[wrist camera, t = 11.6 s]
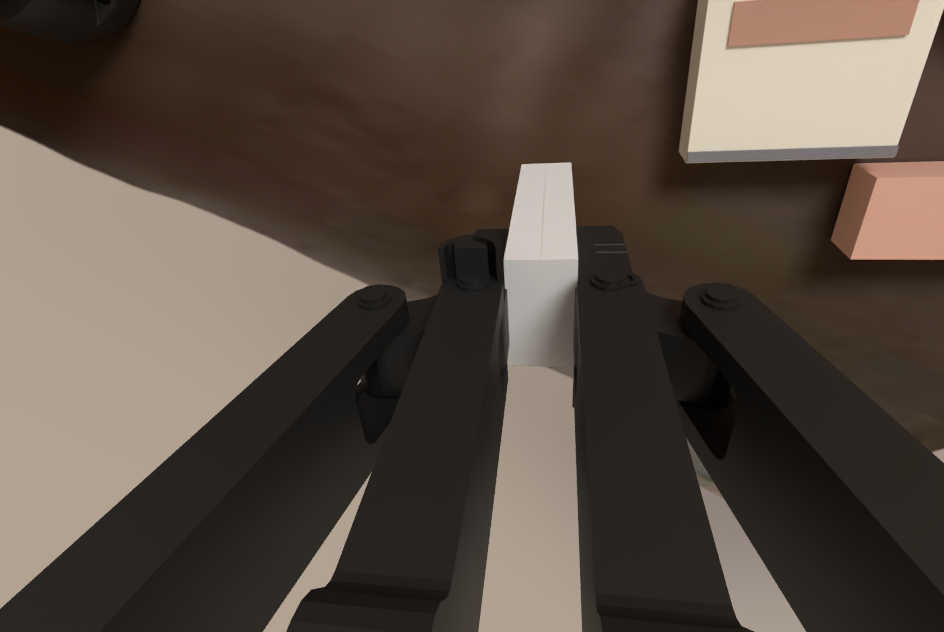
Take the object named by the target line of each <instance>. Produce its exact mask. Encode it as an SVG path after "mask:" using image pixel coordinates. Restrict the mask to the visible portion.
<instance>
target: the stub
mask: <svg viewBox="0 0 944 632" xmlns="http://www.w3.org/2000/svg"><path fill="white" fill-rule="evenodd" d="M831 241H832V242H833V243H834V244H835V245H836V246H837V247H838V248H839V249H840V250H841V251H842V252H843V253H844V254H845V255H846V256H847V257H848V258H849V259H872V260H944V161H932V162H894V163H856V164H854V165H853V168H852V171H851V174H850V178H849V181H848V184H847V188H846V191H845V194H844V198H843V201H842V204H841V208H840V211H839V214H838V218H837V221H836V224H835V228H834V231H833V234H832V237H831Z"/></svg>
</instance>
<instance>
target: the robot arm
mask: <svg viewBox="0 0 944 632" xmlns="http://www.w3.org/2000/svg"><path fill="white" fill-rule="evenodd" d="M138 2H139V0H0V27H4V28H7V29H11V30H14V31H17V32H21V33H24V34H28V35H31V36H34V37H38V38H41V39H45V40H49V41H55V42H64V43H74V42H86V41H94V40H100V39H104V38H107V37H109V36H111V35H113V34H115V33H116V32H118V31H119V30H120V29H122V28H123V27H124V26H125V25H126V24H127V22H128V21H129V20H130V18H131V17H132V15H133V14H134V12H135V10H136V8H137V5H138ZM438 252H439V261H440V269H441V277H442V285H441V288H440V290H439V293H438V295H435V296H433V297H430V298H426V299H421V300H415V301H409V302H407V301H406V296H405V292H404V291H403V290H401V289H400V288H398V287H395V286H391V285H380V284H379V285H374V286H373V285H371V286H367V287H365V288H363V289H360V290H357V291H355V292H354V293H352V294H351V295H349V296H348V297H347V298H346V299H345V300H343V301H342V302H341V303H340V304H339V305H338V306H337V307H336V308H334V309H333V310H332V311H331V312H330V313H329V314H328V315H327V316H326V317H324V318H323V319H322V320H321V321H320V322H319V323H318V324H317V325H316V326H314V327H313V328H312V329H311V330H310V331H309V332H308V333H307V334H306V335H304V336H303V337H302V338H301V339H300V340H299V341H298V342H297V343H296V344H295V345H293V346H292V347H291V348H290V349H289V350H288V351H287V352H285V353H284V354H283V355H282V356H281V357H280V358H279V359H278V360H277V361H276V362H275V363H273V364H272V365H271V366H270V367H269V368H268V369H267V370H266V371H265V372H263V373H262V374H261V375H260V376H259V377H258V378H257V379H255V380H254V381H253V382H252V383H251V384H250V385H249V386H248V387H247V388H246V389H244V390H243V391H242V392H241V393H240V394H239V395H238V396H237V397H235V398H234V399H233V400H232V401H231V402H230V403H229V404H228V405H227V406H225V407H224V408H223V409H222V410H221V411H220V412H219V413H218V414H217V415H215V416H214V417H213V418H212V419H211V420H210V421H209V422H208V423H207V424H206V425H205V426H203V427H202V428H201V429H200V430H199V431H198V432H197V433H195V434H194V435H193V436H192V437H191V438H190V439H189V440H188V441H187V442H185V443H184V444H183V445H182V446H181V447H180V448H179V449H178V450H176V451H175V452H174V453H173V454H172V455H171V456H170V457H169V458H168V459H167V460H165V461H164V462H163V463H162V464H161V465H160V466H159V467H158V468H156V470H154V471H153V472H152V473H151V474H150V475H149V476H148V477H146V478H145V479H144V480H143V481H142V482H141V483H140V484H139V485H138V486H137V487H135V488H134V489H133V490H132V491H131V492H130V493H129V494H128V495H126V496H125V497H124V498H123V499H122V500H121V501H120V502H119V503H118V504H117V505H115V506H114V507H113V508H112V509H111V510H110V511H109V512H108V513H106V514H105V515H104V516H103V517H102V518H101V519H100V520H99V521H98V522H96V523H95V524H94V525H93V526H92V527H91V528H90V529H89V530H88V531H86V532H85V533H84V534H83V535H82V536H81V537H80V538H79V539H78V540H76V541H75V542H74V543H73V544H72V545H71V546H70V547H69V548H67V550H65V551H64V552H63V553H62V554H61V555H60V556H59V557H57V558H56V559H55V560H54V561H53V562H52V563H51V564H50V565H49V566H48V567H46V568H45V569H44V570H43V571H42V572H41V573H40V574H39V575H37V576H36V577H35V578H34V579H33V580H32V581H31V582H30V583H29V584H28V585H26V586H25V587H24V588H23V589H22V590H21V591H20V592H19V593H17V594H16V595H15V596H14V597H13V598H12V599H11V600H10V601H9V602H7V603H6V604H5V605H4V606H3V607H2V608H1V609H0V632H263V630H264V629H265V627H266V626H267V624H268V623H269V621H270V620H271V618H272V617H273V616H274V614H275V613H276V611H277V609H278V608H279V607H280V605H281V604H282V602H283V601H284V599H285V598H286V596H287V595H288V594H289V592H290V591H291V589H292V588H293V586H294V585H295V583H296V582H297V580H298V579H299V578H300V576H301V575H302V573H303V572H304V570H305V569H306V567H307V566H308V564H309V563H310V561H311V560H312V558H313V557H314V556H315V554H316V553H317V551H318V549H319V548H320V547H321V545H322V544H323V542H324V540H325V539H326V538H327V536H328V535H329V534H330V532H331V531H332V529H333V528H334V526H335V525H336V523H337V522H338V520H339V519H340V517H341V516H342V514H343V513H344V512H345V510H346V509H347V507H348V506H349V504H350V503H351V501H352V500H353V498H354V497H355V495H356V494H357V492H358V491H359V489H360V488H361V487H362V485H363V484H364V482H365V481H366V479H367V478H368V476H369V475H370V473H371V472H372V473H371V476H370V478H369V481H368V484H367V487H366V489H365V492H364V495H363V498H362V500H361V503H360V505H359V508H358V511H357V514H356V516H355V519H354V521H353V524H352V527H351V530H350V532H349V535H348V538H347V541H346V543H345V546H344V548H343V551H342V554H341V556H340V559H339V562H338V565H337V568H336V570H335V572H334V574H333V577H332V579H331V581H330V582H329V583H328V584H327V585H326V586H325V587H322V588H317V589H313V590H311V591H310V592H309V593H308V594H307V595H306V596H305V597H304V598H303V599H302V600H301V602H300V604H299V606H298V608H297V610H296V612H295V614H294V616H293V618H292V619H291V622H290V624H289V626H288V629H287V632H478V629H479V620H480V612H481V603H482V595H483V587H484V578H485V569H486V561H487V552H488V544H489V536H490V527H491V519H492V510H493V502H494V494H495V485H496V477H497V468H498V460H499V452H500V451H499V450H500V443H501V435H502V426H503V418H504V409H505V401H506V392H507V384H508V371H507V358H508V361H509V366H543V367H574V379H573V407H574V409H575V439H576V466H577V495H578V522H579V523H578V524H579V551H580V552H579V553H580V579H581V609H582V632H754V631H751V630H749V629H747V628H745V627H742V626H741V625H740V623H739V622H738V620H737V618H736V615H735V612H734V610H733V607H732V603H731V600H730V596H729V593H728V589H727V586H726V582H725V578H724V575H723V571H722V567H721V564H720V561H719V556H718V553H717V549H716V546H715V542H714V538H713V534H712V531H711V527H710V524H709V520H708V517H707V513H706V509H705V505H704V502H703V498H702V495H701V491H700V487H699V484H698V480H697V476H696V473H695V469H694V465H693V462H692V458H691V455H690V451H689V447H688V444H687V440H686V438H687V439H688V441H689V443H690V444H691V446H692V448H693V449H694V451H695V452H696V454H697V456H698V457H699V459H700V460H701V462H702V464H703V465H704V467H705V469H706V470H707V472H708V473H709V475H710V477H711V478H712V480H713V481H714V483H715V485H716V486H717V488H718V490H719V491H720V493H721V494H722V496H723V498H724V499H725V501H726V502H727V504H728V506H729V507H730V509H731V511H732V512H733V514H734V515H735V517H736V519H737V520H738V522H739V524H740V525H741V527H742V528H743V530H744V532H745V533H746V535H747V536H748V538H749V540H750V541H751V543H752V545H753V546H754V548H755V549H756V551H757V553H758V554H759V556H760V557H761V559H762V560H763V562H764V564H765V565H766V567H767V569H768V570H769V572H770V574H771V575H772V577H773V579H774V580H775V582H776V583H777V585H778V587H779V588H780V590H781V591H782V593H783V594H784V596H785V598H786V600H787V601H788V603H789V604H790V606H791V608H792V609H793V611H794V612H795V614H796V616H797V617H798V619H799V621H800V622H801V624H802V625H803V627H804V628H805V630H806V632H944V463H943V462H942V461H941V460H940V459H938V458H937V457H936V456H935V455H934V454H933V453H932V452H930V451H929V450H928V449H927V448H926V447H925V446H924V445H923V444H921V443H920V442H919V441H918V440H917V439H916V438H915V437H914V436H912V435H911V434H910V433H909V432H908V431H907V430H906V429H904V428H903V427H902V426H901V425H900V424H899V423H898V422H897V421H895V420H894V419H893V418H892V417H891V416H890V415H889V414H888V413H886V412H885V411H884V410H883V409H882V408H881V407H880V406H878V405H877V404H876V403H875V402H874V401H873V400H872V399H871V398H869V397H868V396H867V395H866V394H865V393H864V392H863V391H862V390H860V389H859V388H858V387H857V386H856V385H855V384H854V383H853V382H851V381H850V380H849V379H848V378H847V377H846V376H845V375H843V374H842V373H841V372H840V371H839V370H838V369H837V368H836V367H834V366H833V365H832V364H831V363H830V362H829V361H828V360H827V359H825V358H824V357H823V356H822V355H821V354H820V353H819V352H817V351H816V350H815V349H814V348H813V347H812V346H811V345H810V344H808V343H807V342H806V341H805V340H804V339H803V338H802V337H801V336H799V335H798V334H797V333H796V332H795V331H794V330H793V329H792V328H790V327H789V326H788V325H787V324H786V323H785V322H784V321H782V320H781V319H780V318H779V317H778V316H777V315H776V314H775V313H773V312H772V311H771V310H770V309H769V308H768V307H767V306H766V305H764V304H763V303H762V302H761V301H760V300H759V299H758V298H756V297H755V296H754V295H752V294H751V293H749V292H748V291H746V290H744V289H741V288H738V287H735V286H733V285H731V284H726V283H725V284H723V283H717V282H716V283H703V284H699V285H695V286H692V287H690V288H689V289H687V290H686V291H685V293H684V296H683V301H678V300H672V299H667V298H662V297H658V296H655V295H653V294H650V293H648V292H646V291H645V288H644V284H643V282H642V280H641V279H640V277H639V276H637V275H636V274H634V273H632V269H631V265H630V261H629V257H628V253H627V250H626V246H625V242H624V238H623V234H622V233H621V232H620V231H618V230H617V229H616V228H614V227H613V226H576V221H575V208H574V195H573V181H572V168H571V163H546V164H522V166H521V171H520V176H519V182H518V187H517V192H516V197H515V203H514V208H513V213H512V218H511V224H510V229H480V230H477V231H476V232H475V233H473V234H472V235H464V236H459V237H455V238H451V239H449V240H447V241H445V242H443V243H442V244H441V245H440V246H439V247H438ZM360 379H361V382H360V383H359V384H358V386H357V383H358V381H359V380H360Z"/></svg>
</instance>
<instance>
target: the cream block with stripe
mask: <svg viewBox="0 0 944 632" xmlns="http://www.w3.org/2000/svg"><path fill="white" fill-rule="evenodd" d="M943 9H944V0H698V4H697V12H696V20H695V27H694V35H693V43H692V51H691V59H690V67H689V74H688V82H687V90H686V98H685V106H684V113H683V121H682V129H681V137H680V145H679V153H680V155H681V156H682V158H683V159H684V161H685V162H686V163H714V162H750V161H786V160H821V159H857V158H893V157H896V154H897V151H898V148H899V146H898V142H899V139H900V136H901V133H902V131H903V128H904V125H905V122H906V119H907V116H908V113H909V110H910V107H911V104H912V101H913V98H914V95H915V92H916V89H917V86H918V83H919V80H920V77H921V74H922V71H923V69H924V66H925V63H926V60H927V57H928V54H929V51H930V48H931V45H932V42H933V39H934V36H935V33H936V30H937V27H938V24H939V21H940V18H941V15H942V12H943Z"/></svg>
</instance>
